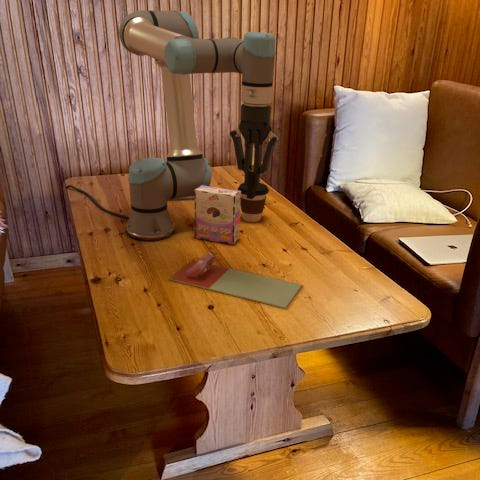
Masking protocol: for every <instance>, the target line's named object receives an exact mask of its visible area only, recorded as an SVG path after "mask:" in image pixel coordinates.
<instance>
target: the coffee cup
mask: <svg viewBox="0 0 480 480" xmlns="http://www.w3.org/2000/svg"><path fill="white" fill-rule="evenodd" d="M237 191H241V200H240V212H241V217H242V219H243V220H244V221H245V222H249V223H257V222H260V221H261V219H262V216H263V213H264V208H265V205H266V200H267V194H269V193H270V189H269V187H268V185H267V184H265V183H262V182H260V184H259V185H258V186H257V187H256V196H255V197H254V198H253V199H248V198H247V185H245V183H244V182H242V183H240V184H239V185H238V187H237Z"/></svg>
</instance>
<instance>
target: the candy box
mask: <svg viewBox="0 0 480 480" xmlns="http://www.w3.org/2000/svg"><path fill="white" fill-rule="evenodd" d="M194 193H195V199H194V238H195V239H199V240H204V241H210V242H215V243H221V244H227V245H232V246H234V245H235V244H236V243H237V242H238V241H239V240H240V227H241V225H240V224H241V204H240V200H241V191H238V189H237V190H236V189H230V188H223V187H216V186H211V185H210V186H204V185H201V186H200V187H198V188H197V189H195V190H194Z"/></svg>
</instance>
